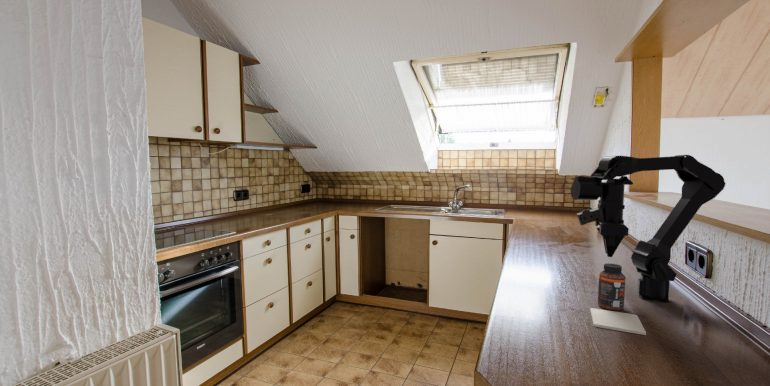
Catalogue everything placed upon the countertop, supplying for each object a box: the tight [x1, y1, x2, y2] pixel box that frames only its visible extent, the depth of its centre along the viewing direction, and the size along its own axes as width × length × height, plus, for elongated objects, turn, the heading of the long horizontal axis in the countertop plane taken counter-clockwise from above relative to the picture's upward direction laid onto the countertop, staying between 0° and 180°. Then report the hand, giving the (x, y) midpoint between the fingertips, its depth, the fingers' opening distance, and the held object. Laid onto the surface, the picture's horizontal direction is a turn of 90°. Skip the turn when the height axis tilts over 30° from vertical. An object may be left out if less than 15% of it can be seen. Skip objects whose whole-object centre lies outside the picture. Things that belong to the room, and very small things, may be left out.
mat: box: [589, 307, 647, 336], centre depth 88 cm, size 10×11×1 cm
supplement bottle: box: [597, 263, 626, 312], centre depth 97 cm, size 6×6×11 cm
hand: (608, 255), depth 105 cm, fingers open, 4 cm apart
